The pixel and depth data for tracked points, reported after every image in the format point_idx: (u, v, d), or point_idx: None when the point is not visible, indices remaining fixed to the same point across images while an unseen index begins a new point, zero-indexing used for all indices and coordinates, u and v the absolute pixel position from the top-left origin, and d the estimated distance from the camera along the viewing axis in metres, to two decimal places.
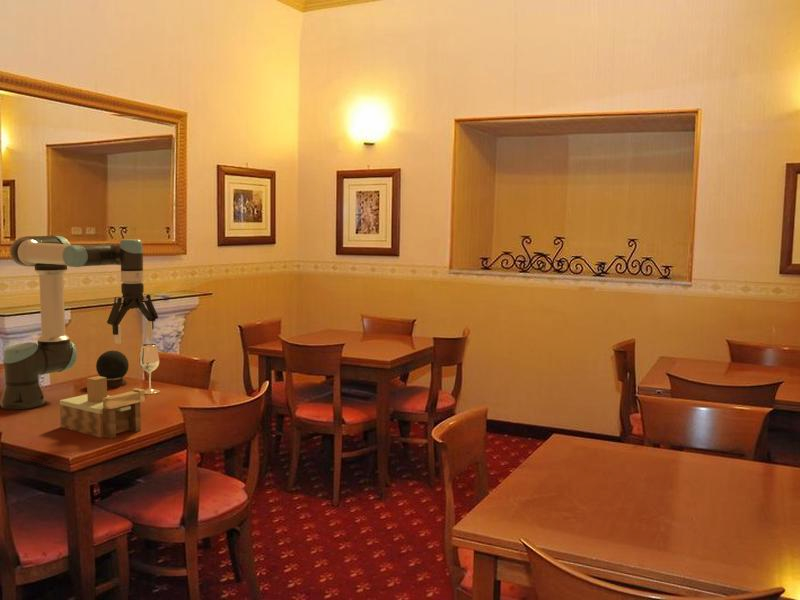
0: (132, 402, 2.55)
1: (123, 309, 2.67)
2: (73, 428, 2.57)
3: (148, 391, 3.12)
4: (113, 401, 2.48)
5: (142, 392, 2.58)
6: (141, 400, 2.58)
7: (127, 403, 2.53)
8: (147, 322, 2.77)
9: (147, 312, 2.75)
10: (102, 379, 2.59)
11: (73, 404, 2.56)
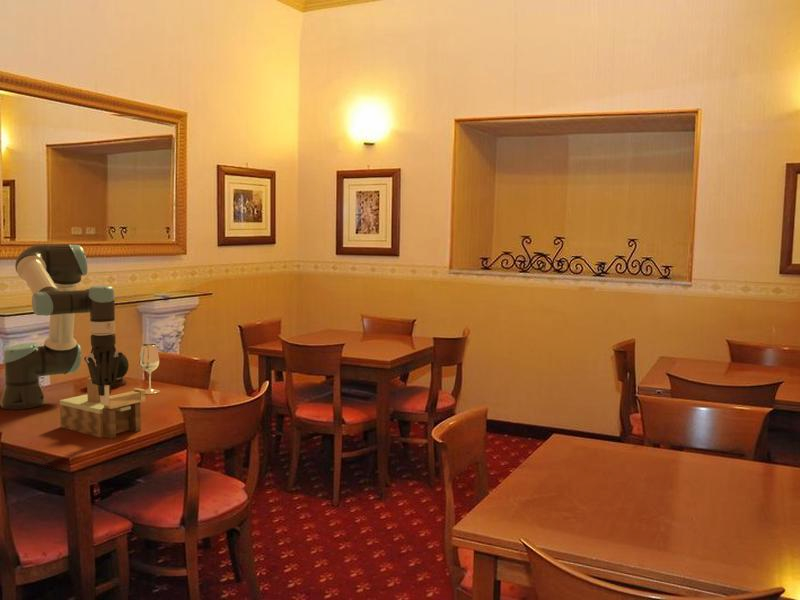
0: (133, 402, 2.55)
1: (99, 366, 2.45)
2: (73, 428, 2.57)
3: (148, 391, 3.12)
4: (114, 401, 2.49)
5: (143, 392, 2.58)
6: (142, 400, 2.58)
7: (127, 402, 2.53)
8: None
9: (109, 371, 2.47)
10: None
11: (73, 404, 2.56)
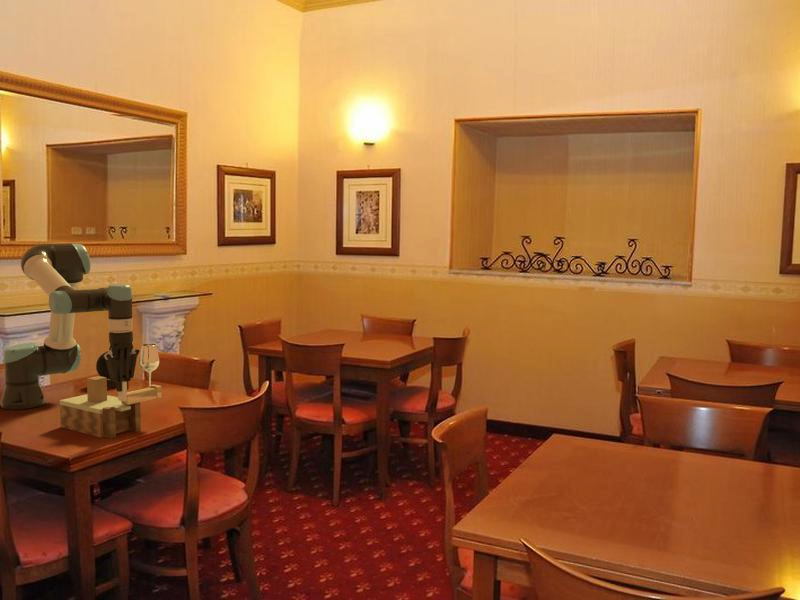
0: (149, 398, 2.61)
1: (117, 363, 2.50)
2: (73, 428, 2.57)
3: None
4: (131, 397, 2.54)
5: (159, 388, 2.64)
6: (158, 396, 2.64)
7: (144, 398, 2.59)
8: None
9: (127, 368, 2.53)
10: (102, 379, 2.59)
11: (73, 404, 2.56)
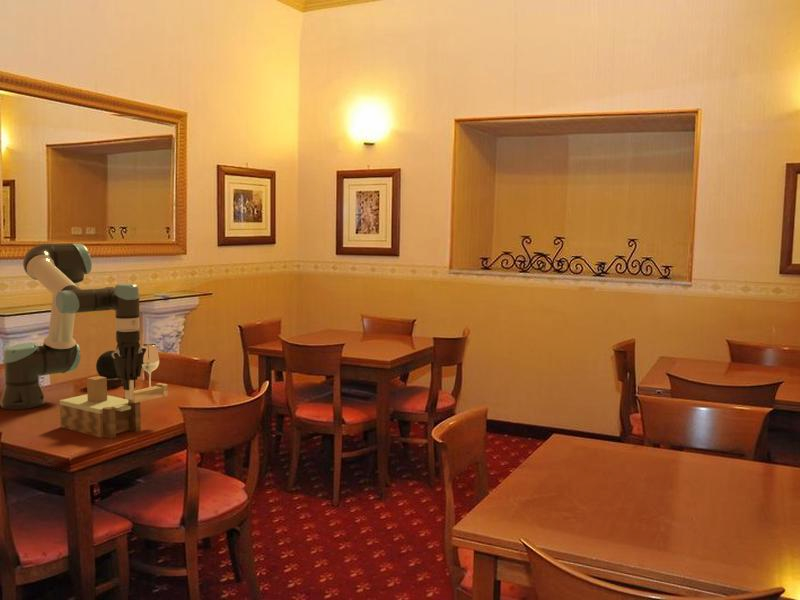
0: (156, 396, 2.63)
1: (124, 362, 2.53)
2: (73, 428, 2.57)
3: None
4: (138, 395, 2.57)
5: (166, 387, 2.66)
6: (164, 395, 2.66)
7: (151, 397, 2.61)
8: None
9: (134, 367, 2.55)
10: (102, 379, 2.59)
11: (73, 404, 2.56)
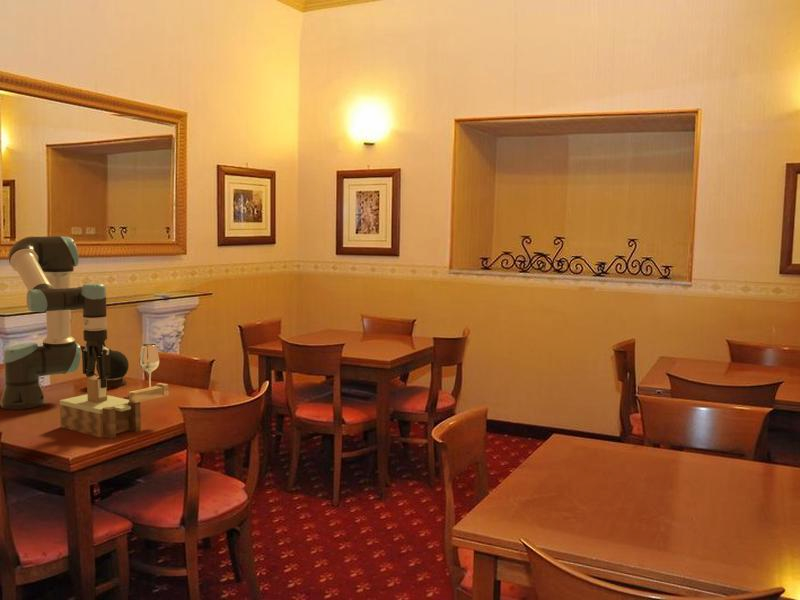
0: (156, 396, 2.63)
1: None
2: (73, 428, 2.57)
3: None
4: (139, 395, 2.57)
5: (166, 386, 2.66)
6: (165, 395, 2.66)
7: (151, 397, 2.62)
8: None
9: (98, 366, 2.57)
10: None
11: (73, 404, 2.56)
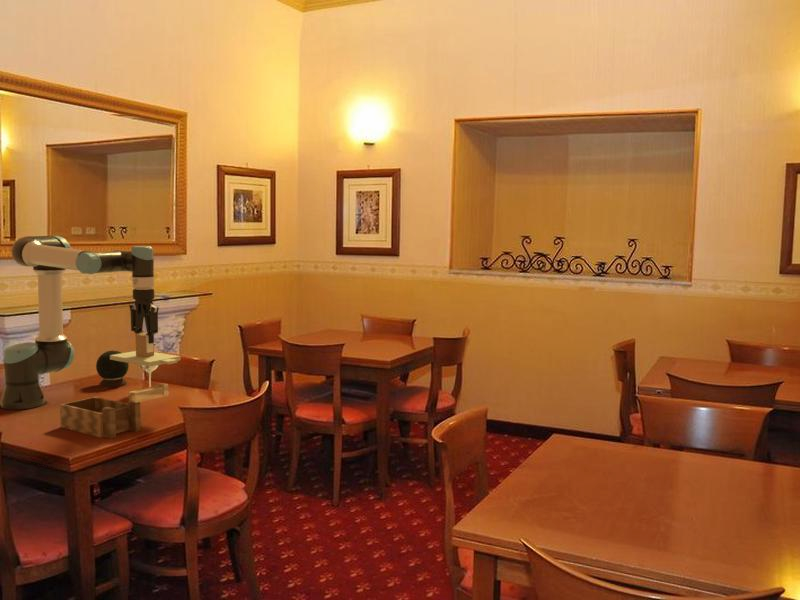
0: (156, 396, 2.63)
1: None
2: (73, 428, 2.57)
3: None
4: (139, 395, 2.57)
5: (166, 386, 2.66)
6: (165, 395, 2.66)
7: (151, 397, 2.62)
8: None
9: (146, 323, 2.75)
10: None
11: (123, 358, 2.74)
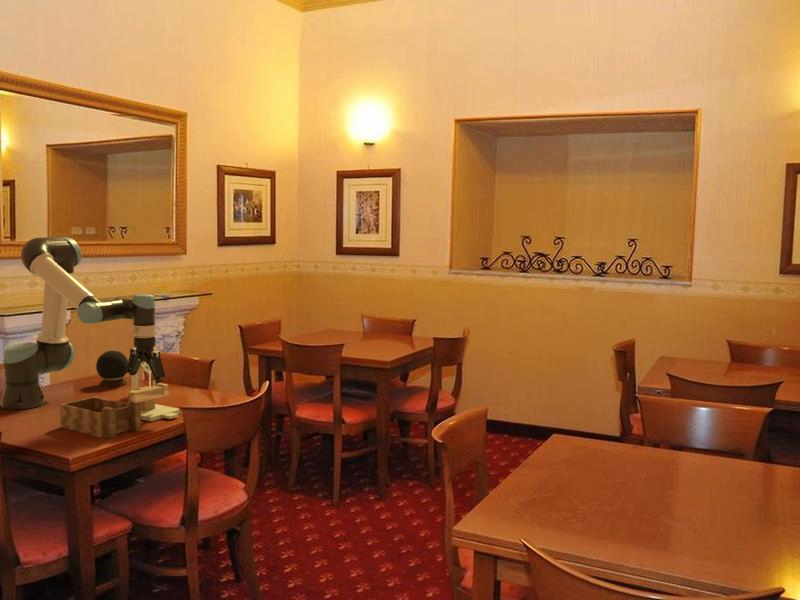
0: (156, 396, 2.63)
1: None
2: (73, 428, 2.57)
3: None
4: (139, 395, 2.57)
5: (166, 386, 2.66)
6: (165, 395, 2.66)
7: (151, 397, 2.62)
8: None
9: (151, 369, 2.75)
10: None
11: None
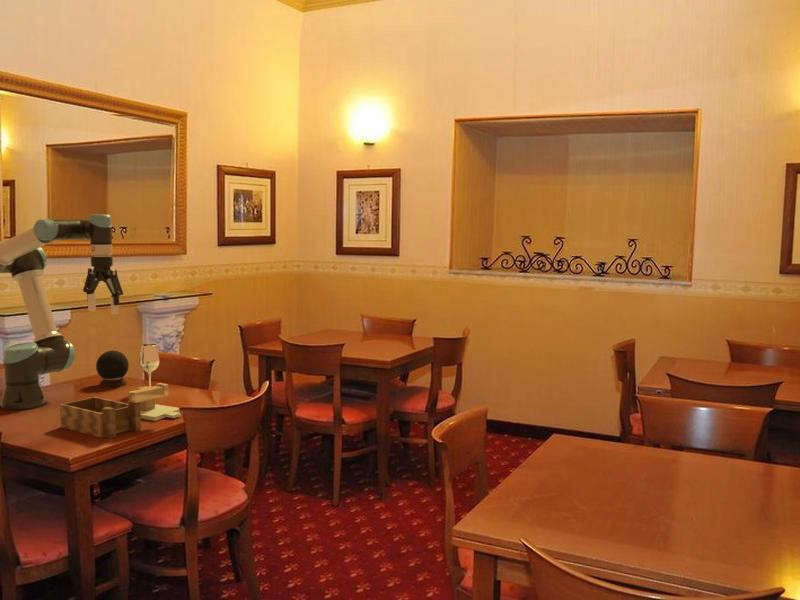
0: (156, 396, 2.63)
1: None
2: (73, 428, 2.57)
3: None
4: (139, 395, 2.57)
5: (166, 386, 2.66)
6: (165, 395, 2.66)
7: (151, 397, 2.62)
8: None
9: (108, 287, 2.78)
10: None
11: None
